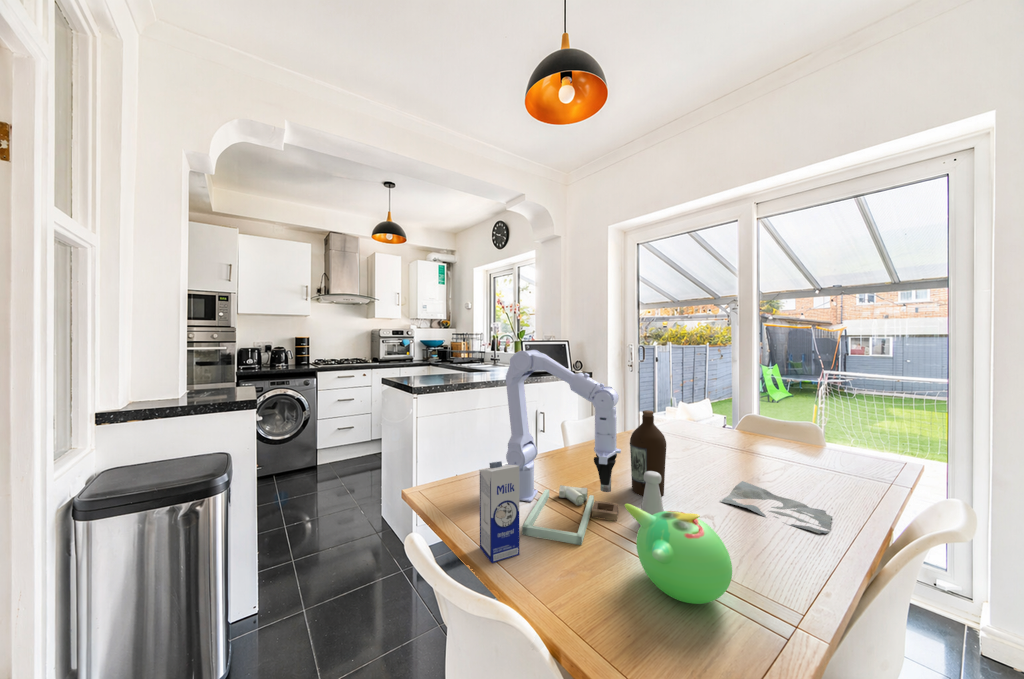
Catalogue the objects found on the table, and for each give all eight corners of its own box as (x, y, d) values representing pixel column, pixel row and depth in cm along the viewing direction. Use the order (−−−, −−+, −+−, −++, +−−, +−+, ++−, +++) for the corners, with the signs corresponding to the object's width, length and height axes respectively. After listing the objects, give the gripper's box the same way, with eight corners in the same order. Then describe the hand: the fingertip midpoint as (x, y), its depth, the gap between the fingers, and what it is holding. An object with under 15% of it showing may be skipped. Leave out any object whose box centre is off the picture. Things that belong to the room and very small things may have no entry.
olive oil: (648, 482, 125) (649, 406, 125) (674, 495, 115) (674, 413, 115) (622, 488, 121) (622, 409, 120) (646, 501, 111) (646, 416, 111)
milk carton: (491, 563, 81) (490, 470, 81) (478, 547, 87) (478, 461, 87) (520, 554, 84) (520, 465, 84) (506, 540, 90) (506, 456, 90)
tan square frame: (592, 517, 102) (592, 510, 102) (594, 506, 108) (594, 500, 108) (616, 521, 100) (616, 514, 100) (618, 510, 106) (618, 503, 106)
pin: (599, 491, 103) (599, 469, 103) (601, 487, 105) (601, 465, 105) (610, 492, 102) (610, 470, 102) (611, 488, 104) (611, 467, 104)
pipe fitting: (585, 509, 107) (587, 497, 114) (585, 496, 107) (587, 485, 114) (557, 506, 110) (560, 494, 116) (557, 493, 109) (560, 482, 116)
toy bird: (753, 622, 65) (754, 536, 64) (657, 628, 63) (657, 541, 63) (694, 559, 83) (694, 492, 82) (618, 563, 81) (618, 495, 81)
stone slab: (841, 522, 101) (842, 514, 101) (824, 544, 92) (825, 535, 91) (741, 487, 121) (742, 480, 120) (719, 502, 111) (719, 495, 111)
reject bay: (522, 534, 93) (522, 526, 93) (545, 495, 115) (545, 489, 115) (581, 545, 88) (581, 536, 88) (593, 502, 110) (593, 495, 110)
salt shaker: (664, 519, 101) (664, 470, 100) (665, 529, 95) (665, 478, 95) (640, 515, 102) (640, 467, 102) (640, 525, 97) (640, 475, 97)
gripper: (619, 440, 95) (619, 494, 95) (622, 427, 109) (622, 474, 109) (590, 438, 97) (590, 491, 98) (597, 425, 111) (597, 471, 111)
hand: (605, 482), depth 103 cm, fingers closed on pin, 3 cm apart
